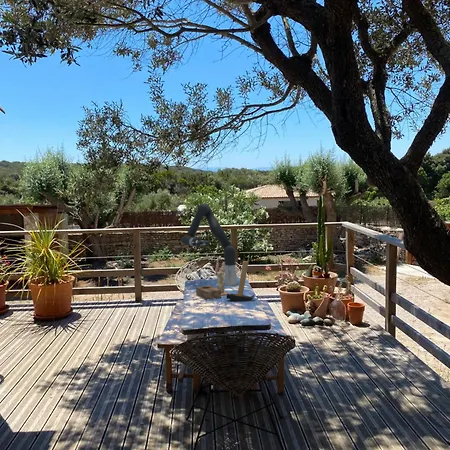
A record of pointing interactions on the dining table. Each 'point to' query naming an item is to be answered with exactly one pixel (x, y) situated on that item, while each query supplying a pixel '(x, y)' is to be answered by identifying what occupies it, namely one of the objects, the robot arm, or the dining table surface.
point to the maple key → (220, 281)
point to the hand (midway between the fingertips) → (203, 244)
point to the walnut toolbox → (208, 292)
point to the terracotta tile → (224, 293)
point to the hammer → (241, 286)
